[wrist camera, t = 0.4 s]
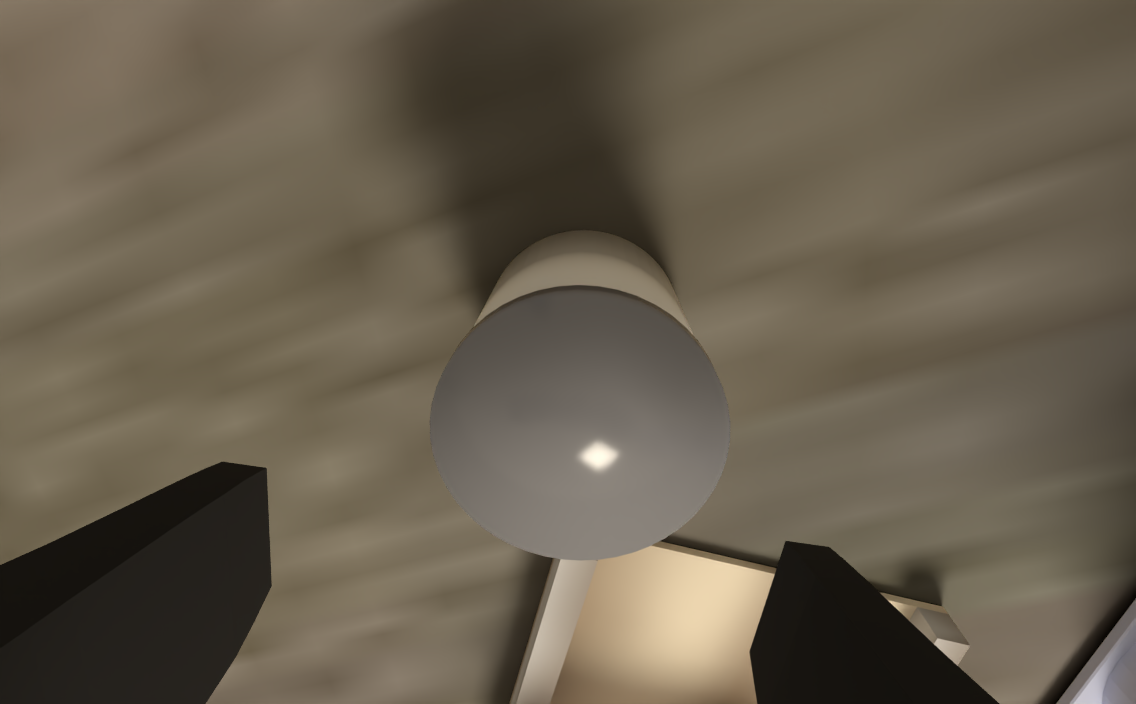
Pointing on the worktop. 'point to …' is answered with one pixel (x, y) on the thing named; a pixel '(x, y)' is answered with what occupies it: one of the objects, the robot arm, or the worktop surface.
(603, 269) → the jar
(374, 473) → the worktop surface
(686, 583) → the lane
